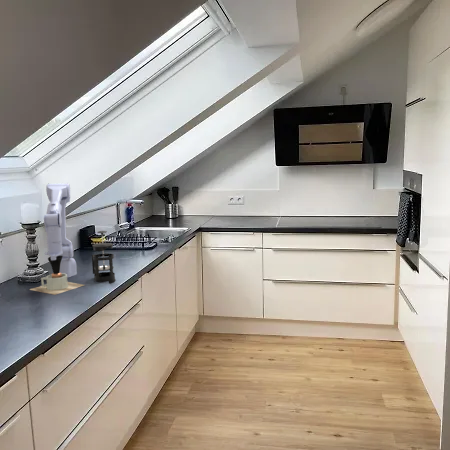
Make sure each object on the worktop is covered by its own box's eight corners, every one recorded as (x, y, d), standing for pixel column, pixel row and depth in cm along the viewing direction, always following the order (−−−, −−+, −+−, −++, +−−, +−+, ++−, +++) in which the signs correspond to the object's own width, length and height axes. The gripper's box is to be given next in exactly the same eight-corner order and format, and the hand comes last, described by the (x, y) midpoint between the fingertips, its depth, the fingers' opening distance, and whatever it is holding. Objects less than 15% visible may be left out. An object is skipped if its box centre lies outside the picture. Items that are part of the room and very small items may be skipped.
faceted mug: (68, 283, 206) (67, 272, 205) (68, 288, 198) (67, 277, 197) (42, 286, 202) (41, 274, 202) (41, 291, 194) (40, 279, 193)
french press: (121, 280, 214) (118, 230, 210) (106, 285, 205) (103, 233, 202) (101, 277, 219) (99, 228, 216) (86, 282, 211) (83, 231, 208)
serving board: (60, 282, 211) (60, 280, 211) (85, 287, 203) (85, 285, 203) (29, 291, 198) (29, 289, 198) (54, 297, 190) (54, 294, 189)
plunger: (64, 283, 204) (63, 271, 203) (64, 287, 198) (63, 274, 198) (50, 285, 202) (49, 272, 201) (50, 288, 197) (49, 275, 196)
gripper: (46, 239, 203) (48, 270, 205) (41, 245, 189) (44, 278, 191) (63, 238, 205) (65, 269, 207) (60, 244, 191) (62, 277, 193)
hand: (56, 273), depth 199 cm, fingers closed, pressing on plunger
